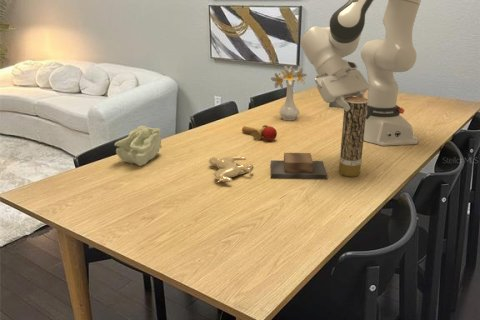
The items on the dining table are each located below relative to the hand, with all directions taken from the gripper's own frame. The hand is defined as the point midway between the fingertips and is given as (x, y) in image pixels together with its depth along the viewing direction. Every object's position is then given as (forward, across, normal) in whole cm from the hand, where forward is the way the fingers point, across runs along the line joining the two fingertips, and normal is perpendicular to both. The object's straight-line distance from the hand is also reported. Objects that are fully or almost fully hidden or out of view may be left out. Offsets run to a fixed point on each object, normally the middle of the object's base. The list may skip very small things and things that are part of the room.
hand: (357, 107), depth 129 cm
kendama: (-18, +4, +51) cm, 54 cm away
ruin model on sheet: (-23, +71, +56) cm, 93 cm away
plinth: (+6, -11, +25) cm, 28 cm away
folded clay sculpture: (-25, -45, +57) cm, 77 cm away
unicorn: (-4, -21, +34) cm, 40 cm away
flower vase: (-26, +34, +57) cm, 71 cm away
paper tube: (+15, 0, +16) cm, 23 cm away
